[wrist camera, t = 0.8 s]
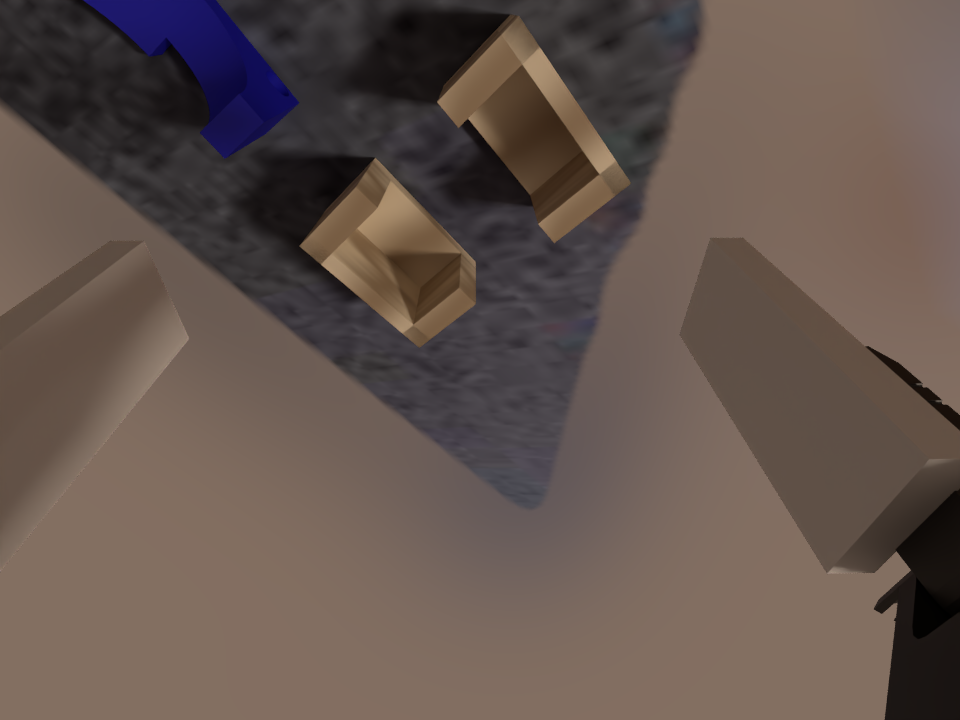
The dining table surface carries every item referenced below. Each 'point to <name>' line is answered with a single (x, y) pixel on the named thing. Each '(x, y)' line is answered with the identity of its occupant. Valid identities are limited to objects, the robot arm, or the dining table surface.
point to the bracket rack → (524, 150)
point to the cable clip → (209, 64)
